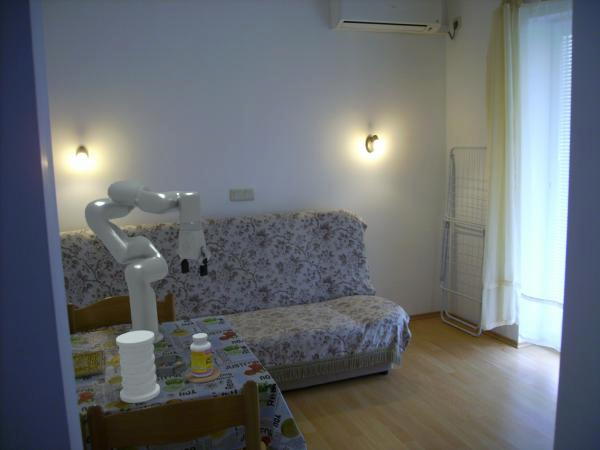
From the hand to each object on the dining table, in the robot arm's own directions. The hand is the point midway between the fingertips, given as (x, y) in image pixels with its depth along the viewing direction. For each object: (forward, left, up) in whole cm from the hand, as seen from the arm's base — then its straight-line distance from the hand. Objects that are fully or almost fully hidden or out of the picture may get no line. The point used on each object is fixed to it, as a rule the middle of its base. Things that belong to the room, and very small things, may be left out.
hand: (194, 274), depth 191 cm
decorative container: (+11, -34, -28) cm, 46 cm away
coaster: (+18, -15, -28) cm, 37 cm away
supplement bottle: (+18, -15, -28) cm, 36 cm away
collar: (+3, -17, -28) cm, 33 cm away
